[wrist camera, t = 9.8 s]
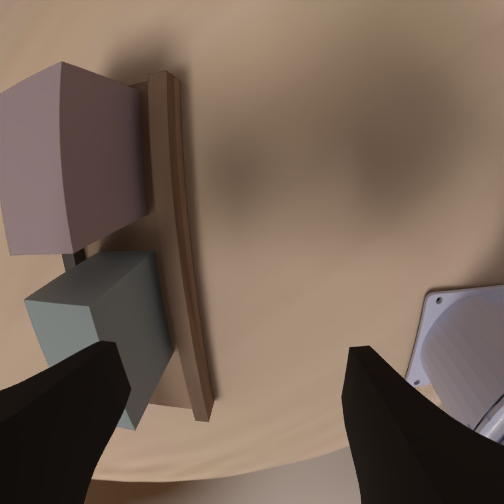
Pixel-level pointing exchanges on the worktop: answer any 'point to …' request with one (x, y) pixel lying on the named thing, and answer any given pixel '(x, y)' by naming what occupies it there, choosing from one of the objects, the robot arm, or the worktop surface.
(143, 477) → the worktop surface
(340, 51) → the worktop surface
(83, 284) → the box
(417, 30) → the worktop surface
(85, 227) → the box
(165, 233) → the shelf ledge
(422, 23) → the worktop surface
